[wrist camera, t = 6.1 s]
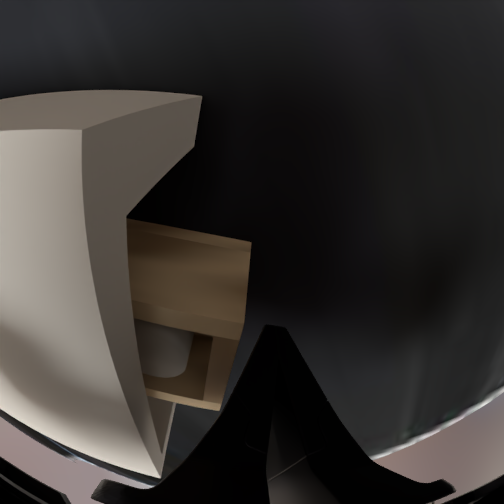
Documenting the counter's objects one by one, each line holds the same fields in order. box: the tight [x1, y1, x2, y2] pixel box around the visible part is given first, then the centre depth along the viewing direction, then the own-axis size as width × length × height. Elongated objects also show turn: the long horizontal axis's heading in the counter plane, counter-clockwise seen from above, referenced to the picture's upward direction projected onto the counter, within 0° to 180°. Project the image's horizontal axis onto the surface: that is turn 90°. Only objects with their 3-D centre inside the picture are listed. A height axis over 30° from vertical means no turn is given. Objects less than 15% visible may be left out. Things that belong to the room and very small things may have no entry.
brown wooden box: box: [126, 218, 251, 411], centre depth 10 cm, size 10×6×4 cm, turn 79°
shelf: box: [0, 90, 202, 478], centre depth 9 cm, size 12×17×6 cm
